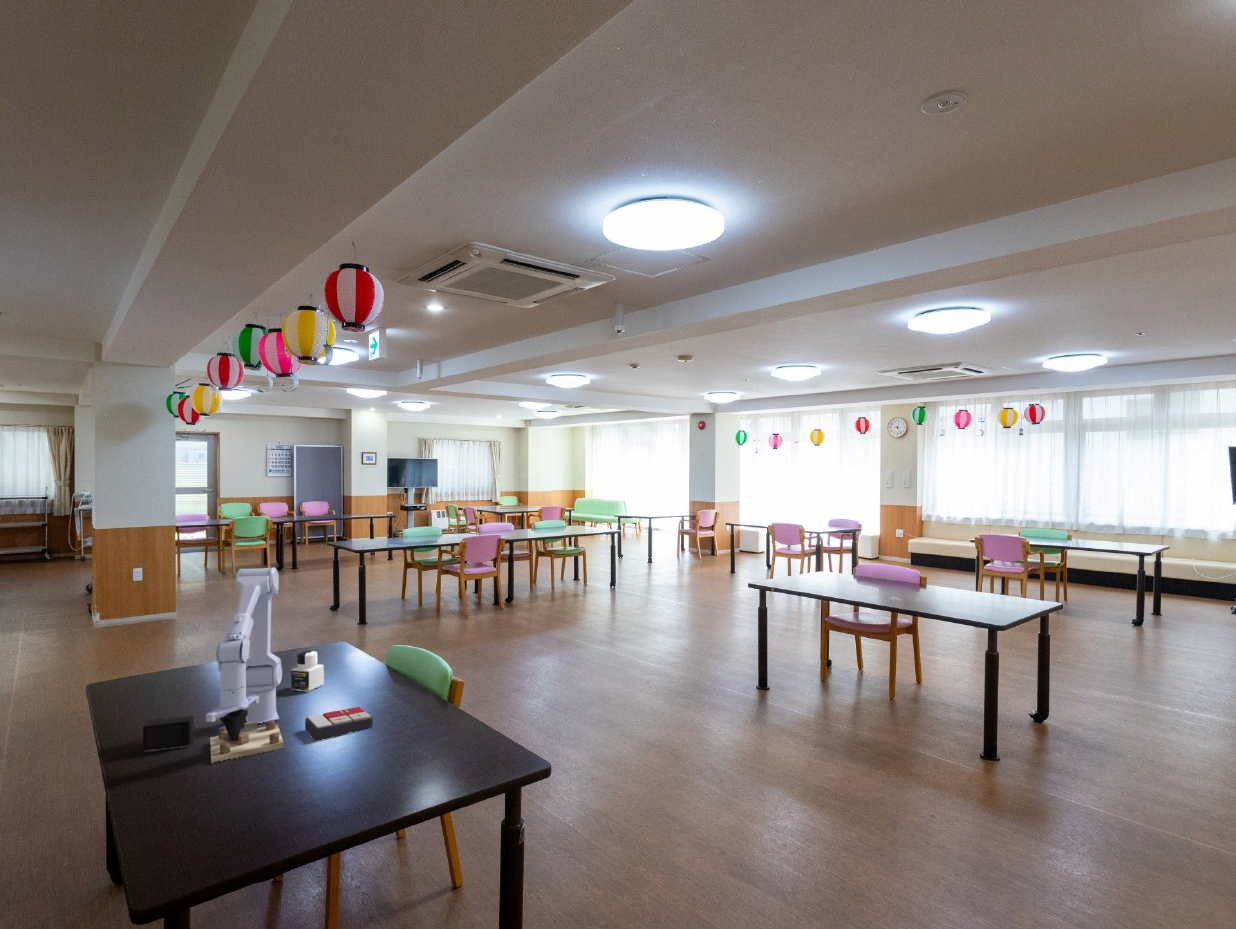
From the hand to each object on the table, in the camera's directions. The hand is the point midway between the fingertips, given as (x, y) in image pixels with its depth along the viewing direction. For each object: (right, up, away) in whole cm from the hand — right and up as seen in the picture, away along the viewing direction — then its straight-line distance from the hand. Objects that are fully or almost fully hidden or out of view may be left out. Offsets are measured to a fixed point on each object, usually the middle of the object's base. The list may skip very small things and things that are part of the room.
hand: (233, 740), depth 172 cm
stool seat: (+2, -3, +3) cm, 4 cm away
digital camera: (-19, -3, +4) cm, 20 cm away
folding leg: (-2, -1, +3) cm, 4 cm away
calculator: (+21, -3, +14) cm, 26 cm away
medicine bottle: (-4, -3, +49) cm, 49 cm away
